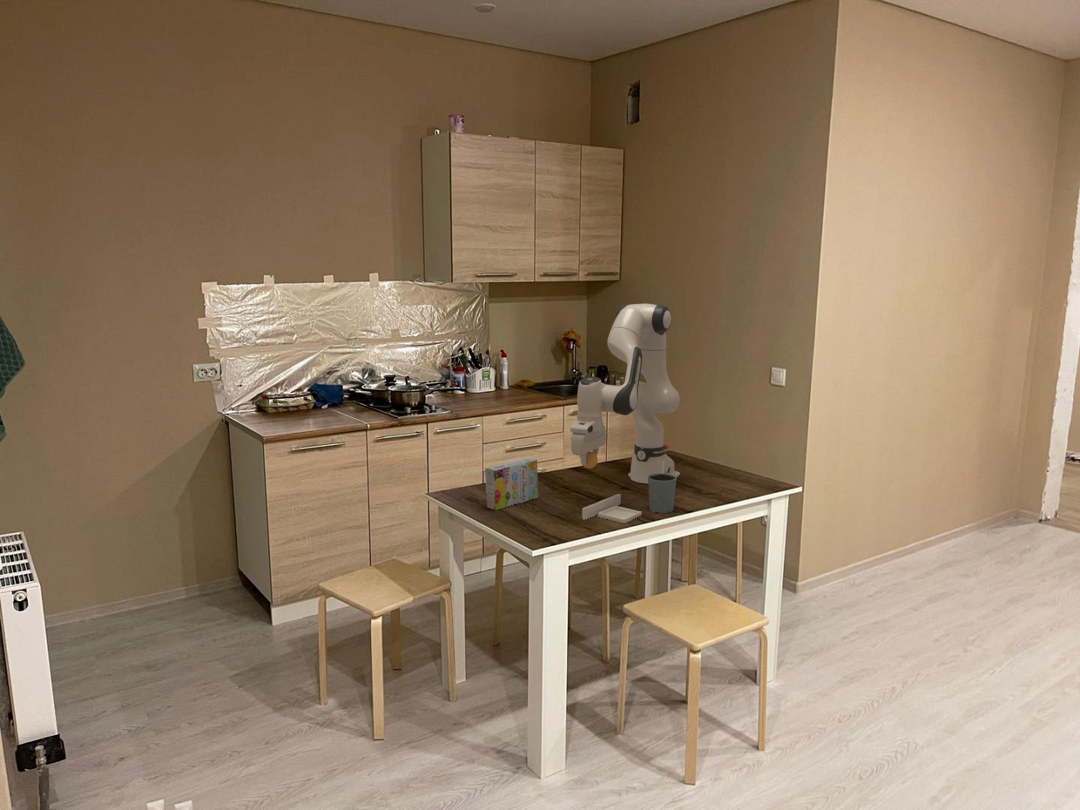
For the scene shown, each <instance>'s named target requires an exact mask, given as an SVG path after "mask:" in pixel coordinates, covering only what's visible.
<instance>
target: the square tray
mask: <svg viewBox="0 0 1080 810" xmlns="http://www.w3.org/2000/svg"><path fill="white" fill-rule="evenodd" d="M641 515H643V511H639V510H635V509H631V508H627V507H624V506H620V505H619V506H614V507H611V508H609V509H606V510H604V511H602V512H599V513H598V515H597V518H599V517H600V518H599V519H603V518H604V519H603V520H607V519H608V521H611V522H612V521H613V522H616V523H620V524H624V525H625V524H627V523H629V522H631V521H633V519H634V520H636V519H637V517H638V518H640V517H642V516H641ZM639 516H640V517H639ZM635 518H636V519H635Z"/></svg>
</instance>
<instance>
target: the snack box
mask: <svg viewBox="0 0 1080 810" xmlns="http://www.w3.org/2000/svg"><path fill="white" fill-rule="evenodd" d="M484 474H485V475H484V476H485V477H484V478H485V503H486V505H485V506H486V508H487V509H489V508H490V510H493V511H498V509H499V510H501V509H502V510H503V509H505V507H506V508H508V506H509V507H512V506H515V505H514V504H516V505H519V504H522V503H525V502H529V501H532V499H533V500H535V499H538V498H539V490H538V489H539V487H538V484H539V483H538V459H536V458H532V457H525V458H520V459H516V460H512V461H508V462H504V463H500V464H496V465H493V466H488V467H485V468H484ZM518 503H519V504H518ZM511 505H512V506H511Z"/></svg>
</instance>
